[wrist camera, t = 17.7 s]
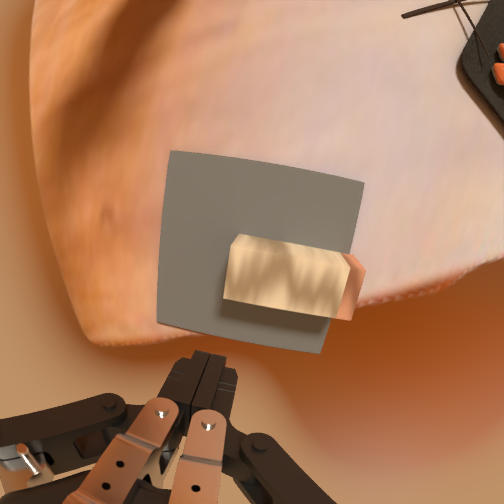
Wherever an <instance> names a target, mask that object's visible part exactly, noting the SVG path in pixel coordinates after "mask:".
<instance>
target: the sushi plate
mask: <svg viewBox="0 0 504 504" xmlns="http://www.w3.org/2000/svg"><path fill="white" fill-rule="evenodd" d="M462 1H466V0H451V1H447V2H443V3H439V4H435V5H431V6H428V7H424V8H421V9H417V10H414V11H411V12H408V13H405V14H402V15H401V16H402V17H403V18H408V17H411V16H414V15H417V14H421V13H424V12H428V11H431V10H434V9H437V8H440V7H444V6H447V5H450V4H454V3H459V5H460V7H461V8H462V10H463V11H464V13H465V15H466V16H467V18H468V20H469V22H470V23H471V25H472V27H473V29H474V31H473V33H472V35H471V37H470V38H469V40H468V42H467V44H466V46H465V48H464V50H463V53H462V57H461V63H462V67H463V69H464V71H465V73H466V75H467V76H468V78H469V79H470V81H471V82H472V83H473V84H474V86H475V87H476V88H477V89H478V91H479V92H480V93H481V94H482V96H483V97H484V98H485V99H486V101H487V102H488V103H489V104H490V106H491V107H492V108H493V109H494V111H495V112H496V113H497V115H498V116H499V117H500V119H501V120H502V121H503V123H504V0H490V2H489V4H488V6H487V8H486V10H485V12H484V13H483V15H482V17H481V19H480V21H479V22H478V24H477V26H476V28H475V26H474V24H473V22H472V20H471V19H470V17H469V15H468V14H467V12H466V10H465V9H464V7H463V5H462V4H461V2H462Z"/></svg>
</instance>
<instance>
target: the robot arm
mask: <svg viewBox="0 0 504 504" xmlns="http://www.w3.org/2000/svg"><path fill="white" fill-rule="evenodd" d="M225 364H226V357H225V356H220V355H216V354H210V353H206V352H202V351H198V350H195V352H194V354H193V356H192V358H191V359H187V358H181V359H180V360H178V361H177V362H175V364H174V366H173V368H172V370H171V372H170V373H169V375H168V377H167V379H166V381H165V383H164V385H163V387H162V388H161V390H160V392H159V394H158V396H157V397H156V398H153V399H151V400H149V401H148V402H147V403H146V404H145V405H130V404H125V401H124V400H123V398H121V397H120V396H118V395H116V394H113V393H105V394H101V395H98V396H94V397H91V398H87V399H84V400H80V401H77V402H73V403H69V404H66V405H62V406H58V407H54V408H51V409H46V410H42V411H38V412H33V413H29V414H25V415H20V416H15V417H11V418H5V419H0V479H1V482H2V485H3V488H4V491H5V495H4V496H2V497H1V498H0V504H218V495H219V487H220V479H221V472H222V473H225V474H226V475H229V476H231V477H233V480H234V482H235V483H236V484H237V486H238V487H239V489H240V490H241V491H242V493H243V494H244V495H245V497H246V498H247V499H248V500H249V502H250V503H251V504H337V503H336V502H334V501H333V500H332V499H331V498H330V497H329V496H328V495H327V494H326V493H325V492H324V491H323V490H322V489H321V488H320V487H319V486H318V485H317V484H316V483H315V482H314V481H313V480H312V479H311V478H310V477H309V476H308V475H307V474H306V473H305V472H304V471H303V470H302V469H301V468H300V467H299V466H298V465H297V464H296V463H295V462H294V460H293V459H292V458H291V457H290V456H289V455H288V454H287V453H286V452H285V451H284V450H283V448H282V447H281V446H280V445H279V444H278V443H277V442H276V441H275V440H274V439H273V438H272V437H271V436H269V435H267V434H264V433H251V434H249V435H246V434H244V433H242V432H240V431H238V430H236V429H235V428H234V427H233V426H232V425H231V423H230V420H229V418H230V413H231V409H232V404H233V400H234V395H235V390H236V384H237V379H238V376H237V373H236V370H235V369H232V368H227V367H225ZM182 436H186V437H187V438H186V442H185V447H184V450H183V454H182V456H180V459H179V462H178V466H177V470H176V474H175V478H174V482H173V486H172V490H168V489H162V487H163V481H164V478H165V476H166V474H167V472H168V470H169V468H170V466H171V464H172V462H173V460H174V458H175V455H176V454H177V452H178V449H179V444H180V442H181V439H182ZM94 463H96V464H95V466H94V467H93V468H92V470H87V471H83V472H80V473H77V474H74V475H71V476H68V477H65V478H62V479H58V480H55V481H53V478H54V475H57V474H60V473H64V472H68V471H71V470H74V469H78V468H81V467H84V466H87V465H90V464H94Z"/></svg>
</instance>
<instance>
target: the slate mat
mask: <svg viewBox="0 0 504 504" xmlns="http://www.w3.org/2000/svg"><path fill="white" fill-rule="evenodd" d="M363 189H364V182H359V181H355V180H351V179H347V178H342V177H338V176H334V175H329V174H324V173H320V172H315V171H310V170H305V169H300V168H294V167H289V166H284V165H278V164H272V163H266V162H260V161H254V160H247V159H240V158H233V157H226V156H218V155H210V154H201V153H192V152H182V151H171V150H170V156H169V163H168V170H167V178H166V186H165V194H164V204H163V213H162V224H161V236H160V250H159V266H158V287H157V322H160V323H164V324H168V325H172V326H176V327H180V328H184V329H188V330H192V331H197V332H201V333H205V334H210V335H214V336H219V337H224V338H228V339H233V340H239V341H244V342H249V343H254V344H259V345H265V346H271V347H277V348H283V349H289V350H295V351H303V352H309V353H316V354H320V352H321V349H322V346H323V343H324V340H325V337H326V334H327V331H328V327H329V324H330V321H331V318H330V317H324V316H318V315H311V314H305V313H299V312H293V311H288V310H282V309H276V308H271V307H265V306H260V305H255V304H249V303H244V302H239V301H234V300H229V299H224V298H223V296H224V289H225V281H226V274H227V267H228V260H229V254H230V247H231V244H232V243H233V242H234V240H235V239H236V237H237V236H238V235H239V234H244V235H249V236H255V237H260V238H266V239H271V240H277V241H282V242H288V243H293V244H298V245H304V246H309V247H314V248H319V249H324V250H330V251H335V252H340V253H345V254H349V253H350V249H351V244H352V240H353V236H354V232H355V227H356V223H357V218H358V213H359V209H360V204H361V199H362V194H363Z"/></svg>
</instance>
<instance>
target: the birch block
mask: <svg viewBox="0 0 504 504" xmlns="http://www.w3.org/2000/svg"><path fill="white" fill-rule="evenodd" d="M365 272H366V270H365V269H364V268H363V266H362V265H361V264H360V263H359V261H358V260H357V259H356V258H355V256H354V255H350V254H345V253H340V252H335V251H330V250H324V249H319V248H314V247H309V246H304V245H298V244H293V243H288V242H282V241H277V240H271V239H266V238H260V237H255V236H249V235H244V234H239V235H238V236H237V237H236V239H235V240H234V242H233V243H232V244H231V247H230V254H229V260H228V267H227V274H226V281H225V289H224V296H223V298H224V299H229V300H234V301H239V302H244V303H249V304H255V305H260V306H265V307H271V308H276V309H282V310H288V311H293V312H299V313H305V314H311V315H318V316H324V317H330V318H337V319H344V320H351V318H352V315H353V312H354V309H355V306H356V302H357V299H358V296H359V293H360V289H361V286H362V283H363V279H364V276H365Z"/></svg>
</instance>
